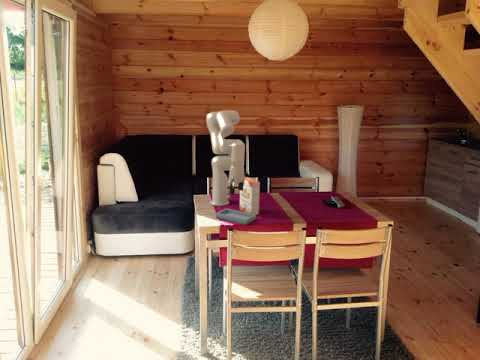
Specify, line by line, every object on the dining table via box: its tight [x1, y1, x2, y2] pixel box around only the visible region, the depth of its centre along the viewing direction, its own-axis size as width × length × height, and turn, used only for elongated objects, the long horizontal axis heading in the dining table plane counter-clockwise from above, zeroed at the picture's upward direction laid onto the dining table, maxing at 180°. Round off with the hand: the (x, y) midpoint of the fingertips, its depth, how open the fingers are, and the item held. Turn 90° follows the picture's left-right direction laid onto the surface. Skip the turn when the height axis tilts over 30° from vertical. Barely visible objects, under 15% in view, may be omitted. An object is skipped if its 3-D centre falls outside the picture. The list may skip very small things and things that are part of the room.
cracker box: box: [239, 176, 261, 216], centre depth 280 cm, size 14×6×21 cm, turn 31°
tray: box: [215, 208, 257, 226], centre depth 269 cm, size 12×21×3 cm, turn 59°
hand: (236, 192), depth 266 cm, fingers open, 9 cm apart
